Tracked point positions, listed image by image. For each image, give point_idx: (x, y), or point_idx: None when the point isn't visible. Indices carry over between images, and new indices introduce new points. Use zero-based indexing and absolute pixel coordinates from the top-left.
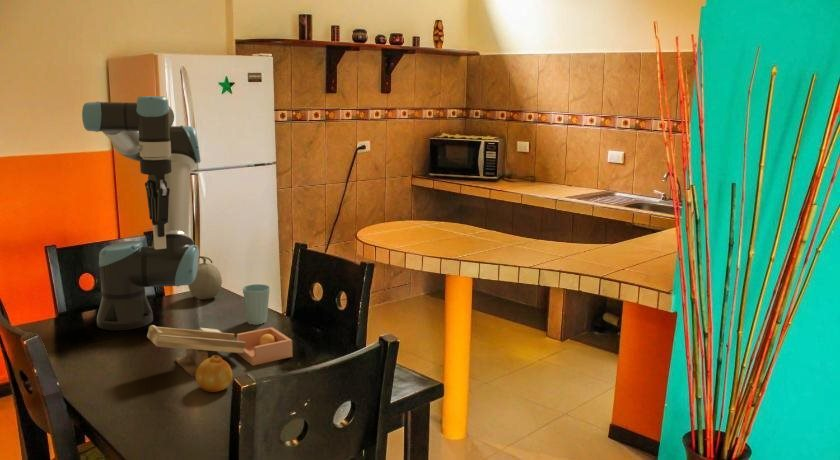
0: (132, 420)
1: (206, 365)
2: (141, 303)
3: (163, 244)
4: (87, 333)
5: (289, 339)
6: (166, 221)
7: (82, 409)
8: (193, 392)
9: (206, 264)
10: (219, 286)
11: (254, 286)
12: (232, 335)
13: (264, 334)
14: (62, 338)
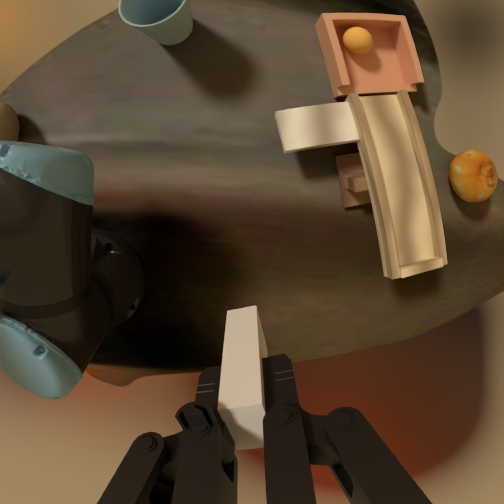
0: (481, 276)
1: (492, 192)
2: (103, 265)
3: (259, 329)
4: (147, 332)
5: (400, 17)
6: (362, 420)
7: (434, 326)
8: (460, 202)
9: None
10: (5, 103)
11: (123, 4)
12: (358, 97)
13: (357, 39)
14: (164, 361)
